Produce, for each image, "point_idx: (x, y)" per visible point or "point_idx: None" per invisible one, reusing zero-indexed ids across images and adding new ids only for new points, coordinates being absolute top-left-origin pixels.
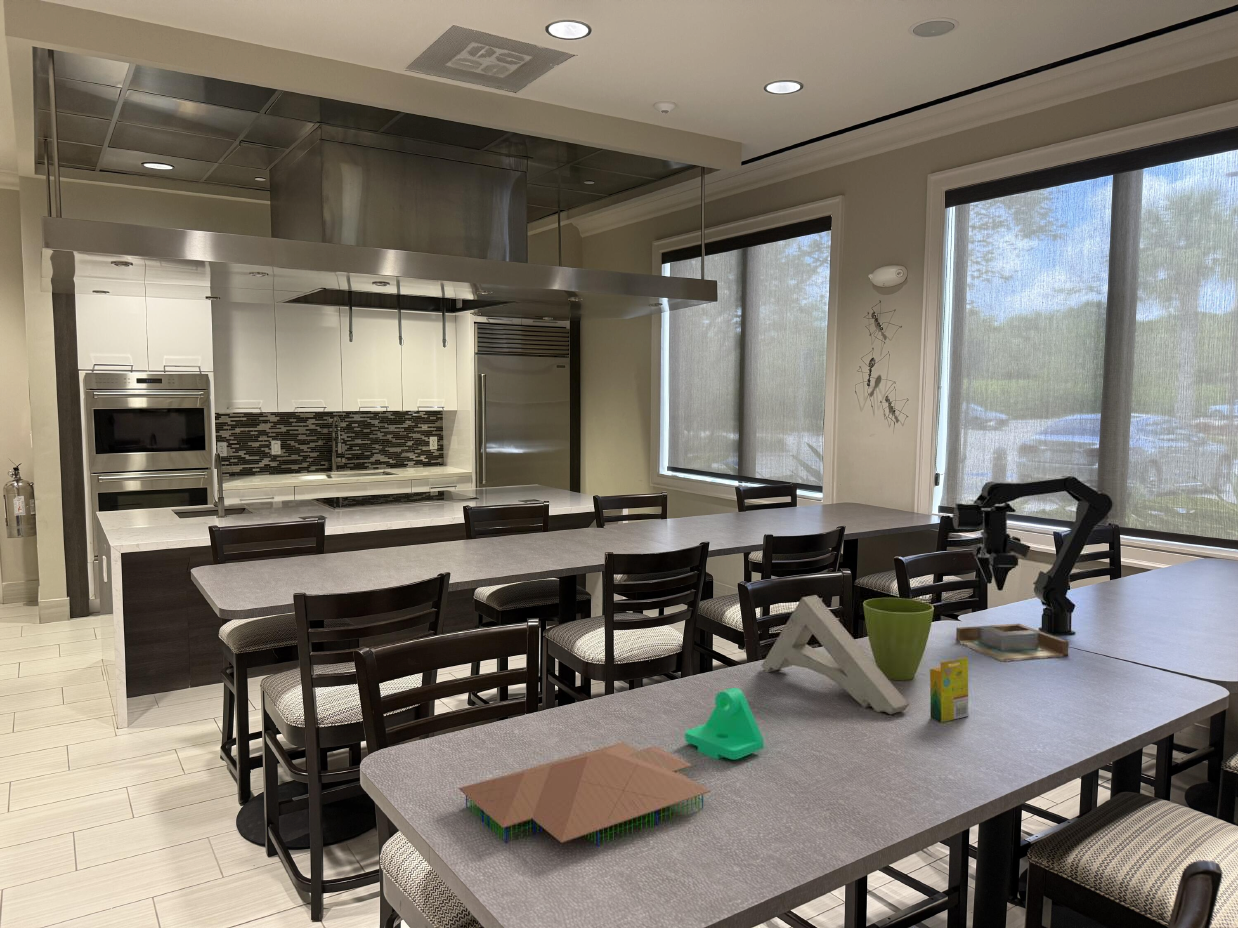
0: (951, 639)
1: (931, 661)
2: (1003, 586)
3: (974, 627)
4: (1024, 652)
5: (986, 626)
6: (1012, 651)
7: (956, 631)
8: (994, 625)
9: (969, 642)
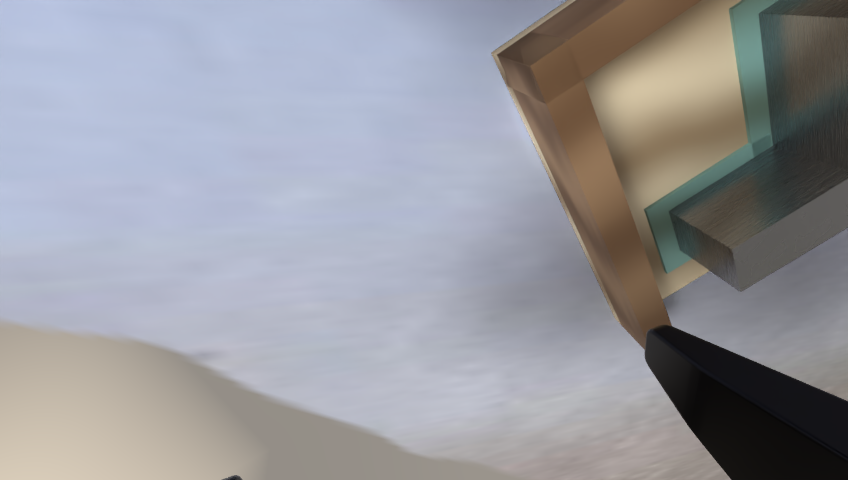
0: (583, 336)
1: (828, 341)
2: (715, 346)
3: (649, 299)
4: None
5: (739, 259)
6: None
7: (643, 347)
8: (601, 217)
9: (666, 278)
